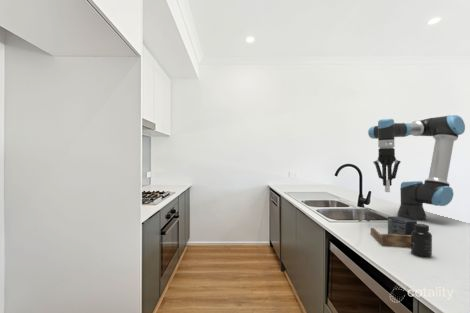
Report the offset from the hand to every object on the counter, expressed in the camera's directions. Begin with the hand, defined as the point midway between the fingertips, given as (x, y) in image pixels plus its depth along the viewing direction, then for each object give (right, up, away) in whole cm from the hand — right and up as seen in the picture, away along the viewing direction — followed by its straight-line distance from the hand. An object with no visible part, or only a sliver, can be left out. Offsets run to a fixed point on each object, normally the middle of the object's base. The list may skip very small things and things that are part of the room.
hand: (387, 191), depth 138 cm
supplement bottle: (-7, -21, -35) cm, 41 cm away
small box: (-4, -21, -19) cm, 28 cm away
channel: (-6, -20, -18) cm, 28 cm away
